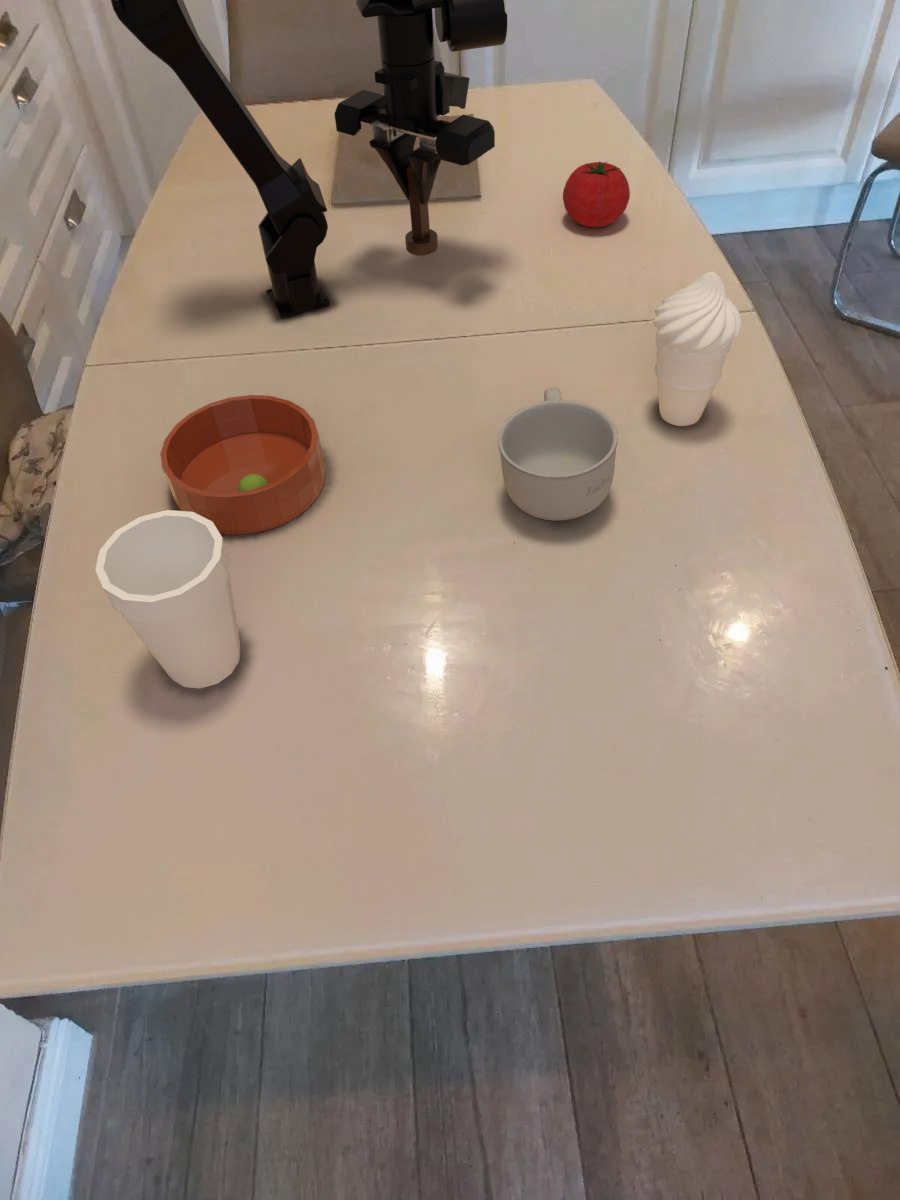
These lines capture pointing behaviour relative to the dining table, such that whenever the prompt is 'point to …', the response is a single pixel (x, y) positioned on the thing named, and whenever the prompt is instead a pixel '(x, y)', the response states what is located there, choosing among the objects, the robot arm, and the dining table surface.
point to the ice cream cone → (692, 347)
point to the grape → (252, 482)
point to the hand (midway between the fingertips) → (418, 201)
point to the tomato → (596, 194)
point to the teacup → (558, 457)
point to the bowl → (244, 462)
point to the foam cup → (175, 593)
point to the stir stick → (419, 223)
